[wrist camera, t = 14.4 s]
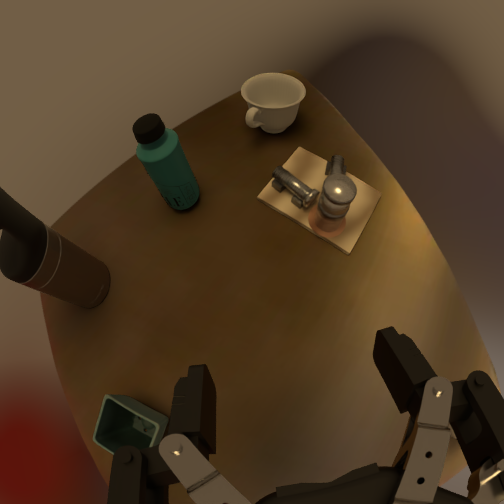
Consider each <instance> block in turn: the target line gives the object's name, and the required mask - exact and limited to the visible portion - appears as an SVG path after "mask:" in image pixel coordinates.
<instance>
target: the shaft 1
mask: <svg viewBox="0 0 504 504" xmlns="http://www.w3.org/2000/svg"><path fill="white" fill-rule="evenodd" d="M272 177H273V178H275V179H274V180H273V181H272V187H273V188H274V189H275V190H277V191H278V192H279V193H281V192H282V191H283V190H284V189H286V188H287V189H289V190H290V191H291V192H292V193H294V194H295V195H294V196H292V199H291V202H292V203H293V204H294V205H295V206H296V207H298V208H299V209H301V208H302V207H303V206H305V207H306V208H309V207H310V206H311V205H312V204H313V203H314V202H315V201H316V199H317V198H318V196H319V194H320V192H319V191H318V190H317V189H313V190H312V189H311V188H310V187H308V186H307V185H305V184H304V183H303V182H302V181H300V180H299V179H298V178H296V177H295V176H294V175H293V174H292V173H290V172H289V171H288V170H286V169H284V168H283V167H282V166H278V167H277V168H276V169H275V170H274V171H273V173H272Z"/></svg>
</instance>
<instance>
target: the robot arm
mask: <svg viewBox="0 0 504 504" xmlns="http://www.w3.org/2000/svg"><path fill="white" fill-rule="evenodd" d="M0 229H3V230H2V235H1V239H0V269H1V272H2V273H3V275H4V276H6V277H7V278H8V279H10V280H12V281H15V282H17V283H20V284H22V285H25V286H27V287H30V288H32V289H35V290H37V291H40V292H42V293H45V294H48V295H50V296H53V297H56V298H59V299H62V300H64V301H67V302H70V303H73V304H76V305H79V306H82V307H85V308H92V307H95V306H97V305H98V304H100V303H101V302H102V301H103V299H104V298H105V296H106V295H107V292H108V290H109V285H110V276H109V271H108V269H107V267H106V265H105V264H104V263H103V262H101V261H100V260H98V259H97V258H95V257H93V256H92V255H90V254H89V253H87V252H86V251H84V250H83V249H81V248H80V247H78V246H77V245H75V244H74V243H72V242H71V241H69V240H68V239H66V238H65V237H63V236H62V235H60V234H59V233H57V232H56V231H55V230H53V229H52V228H50V227H48V226H47V225H46V224H44V223H43V222H42V221H40V220H39V219H37V218H36V217H35V216H34V215H32V214H31V213H30V212H29V211H28V210H26V209H25V208H24V207H22V206H21V205H20V204H19V203H17V202H16V201H15V200H14V199H13V198H12V197H10V196H9V195H8V194H7V193H6V192H5V191H4V190H3V189H2V188H1V187H0ZM373 359H374V362H375V365H376V366H377V368H378V370H379V372H380V374H381V376H382V378H383V380H384V382H385V384H386V386H387V388H388V389H389V391H390V393H391V395H392V397H393V399H394V401H395V403H396V405H397V407H398V409H399V411H400V413H401V414H402V413H404V412H407V411H408V412H409V414H410V417H409V420H408V423H407V427H406V430H405V433H404V437H403V440H402V443H401V446H400V449H399V451H398V453H397V455H396V457H395V459H394V462H393V464H392V466H391V467H387V466H382V467H378V466H377V463H373V464H370V465H367V466H364V467H361V468H358V469H355V470H352V471H351V472H349V473H347V474H345V475H343V476H341V477H339V478H337V479H336V480H334V481H332V482H329V483H299V484H293V485H287V486H281V487H276V492H274V493H271V494H269V495H267V496H265V497H263V498H262V499H260V500H259V501H258V502H256V503H255V504H499V503H500V502H501V501H503V500H504V399H503V397H502V396H501V394H500V392H499V391H498V389H497V388H496V386H495V385H494V383H493V381H492V380H491V378H490V377H489V376H488V374H486V373H485V372H483V371H473V372H472V373H470V374H469V376H468V378H467V379H466V380H461V381H454V382H450V381H449V380H448V379H446V378H444V377H438V376H437V375H436V374H435V372H434V371H433V369H432V368H431V366H430V365H429V363H428V362H427V360H426V359H425V357H424V356H423V355H422V354H421V352H420V350H419V349H418V348H417V346H416V345H415V343H414V342H413V340H412V339H411V338H409V337H408V336H406V335H405V334H401V335H399V334H398V333H397V331H396V330H395V329H394V327H392V326H391V327H388V328H384V329H381V330H378V331H377V333H376V338H375V344H374V350H373ZM173 396H174V398H173V402H172V404H173V405H172V408H171V415H170V423H169V430H168V434H167V436H166V437H165V438H164V439H163V440H162V441H161V442H160V444H158V445H156V446H153V447H149V448H145V449H140V450H138V449H137V448H136V447H134V446H130V445H126V446H122V447H120V448H119V449H117V450H116V452H115V453H114V456H113V461H112V468H111V475H110V483H109V492H108V502H107V504H169V499H168V489H169V485H171V484H175V483H179V482H181V483H182V484H183V485H184V487H185V488H186V489H187V493H188V494H189V496H190V497H191V498H192V499H193V500H194V502H195V503H196V504H252V503H251V502H249V501H248V500H247V499H246V498H245V497H244V496H243V495H242V494H241V493H240V492H238V491H237V490H236V489H235V488H234V487H233V486H232V485H231V484H230V483H229V482H228V481H227V480H226V479H225V478H224V477H223V476H222V475H221V474H220V473H219V472H218V471H217V470H216V469H215V468H214V467H213V466H212V465H211V464H210V463H209V454H216V388H215V384H214V382H213V379H212V377H211V375H210V372H209V370H208V367H207V365H206V364H202V365H192V366H189V369H188V377H182V378H180V379H179V381H178V382H177V384H176V385H175V388H174V395H173ZM448 423H450V425H451V427H452V429H453V431H454V434H455V436H456V438H457V440H458V443H459V445H460V447H461V449H462V452H463V454H464V456H465V459H466V461H467V464H468V466H469V469H470V471H471V475H470V477H469V480H468V485H467V490H468V491H469V492H468V497H464V496H462V495H459V494H456V493H454V492H451V491H448V490H446V489H443V488H441V487H439V486H438V483H439V480H440V477H441V473H442V470H443V466H444V462H445V458H446V454H447V449H448V445H449V440H450V434H451V429H450V428H448Z"/></svg>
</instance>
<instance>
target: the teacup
mask: <svg viewBox="0 0 504 504" xmlns="http://www.w3.org/2000/svg"><path fill="white" fill-rule="evenodd" d="M305 93H306V90H305V87H304V85H303V84H302V83H301V82H300V81H299V80H297V79H296V78H294V77H292V76H289V75H286V74H281V73H265V74H260V75H257V76H254V77H252V78H250V79H248V80H247V81H246V82H245V83H244V84H243V86H242V88H241V94H242V96H243V98H244V99H245V100H246V101H247V103H248V107H249V110H248V112H247V114H246V124H247V125H248V126H249V127H251V128H256V127H258V126H260V127H261V128H262V129H263V130H264V131H266V132H268V133H280V132H282V131H284V130H285V129H286V127H288V126H290V125H291V124H292V123H293V121H294V120H295V118H296V115H297V111H298V107H299V103H300V101H301V100H302V99H303V98H304V97H305ZM253 121H254V122H253Z"/></svg>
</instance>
